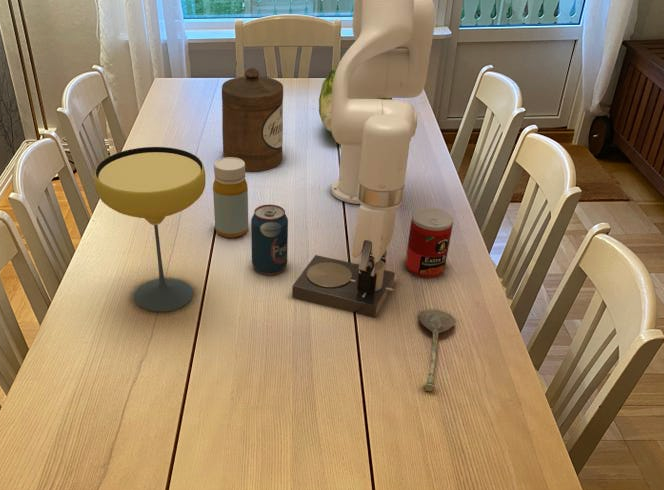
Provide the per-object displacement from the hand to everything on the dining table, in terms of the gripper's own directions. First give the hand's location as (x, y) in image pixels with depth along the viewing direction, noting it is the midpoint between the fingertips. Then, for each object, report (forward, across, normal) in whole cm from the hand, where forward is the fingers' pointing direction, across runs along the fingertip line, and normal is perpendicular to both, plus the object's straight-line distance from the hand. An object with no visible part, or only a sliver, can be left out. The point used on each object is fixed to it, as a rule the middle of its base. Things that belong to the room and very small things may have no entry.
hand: (370, 283), depth 131 cm
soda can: (+3, -2, -21) cm, 21 cm away
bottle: (+3, -12, -34) cm, 36 cm away
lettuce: (+3, -72, -27) cm, 77 cm away
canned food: (+3, -14, +7) cm, 16 cm away
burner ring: (0, 0, -8) cm, 8 cm away
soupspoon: (+3, +11, +14) cm, 19 cm away
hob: (+3, 0, -5) cm, 6 cm away
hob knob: (0, 0, 0) cm, 0 cm away
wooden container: (+3, -47, -45) cm, 65 cm away
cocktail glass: (+3, +15, -35) cm, 38 cm away
